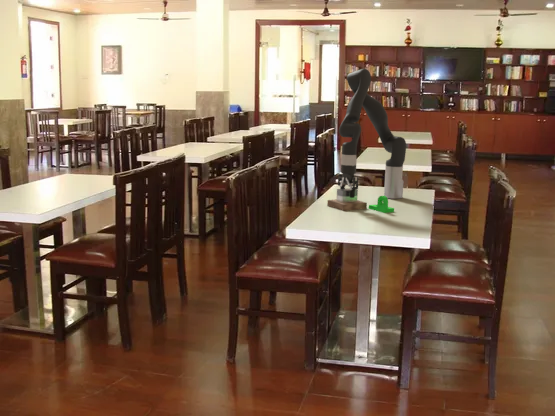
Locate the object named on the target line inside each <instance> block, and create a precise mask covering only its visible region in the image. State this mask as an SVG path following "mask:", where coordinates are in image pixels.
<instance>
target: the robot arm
mask: <svg viewBox="0 0 555 416" xmlns="http://www.w3.org/2000/svg"><path fill="white" fill-rule="evenodd" d="M346 81H347V84H348V86H349V89H351V91H352V92H353V94H354V95H353V96H352V98H350V101H349V102H348V105H347V107H346V113H345V116H344V118H343V120H342V121H341V124H340V125H339V128H338V133H339V135H340V136H341V138H352V139H351V141H347V142H343V143H342V146H341V158H340V173H338V176H337V186H339V189H346V185H347V186H348V187H349V188H350V189H351V190H350V198H354V197H355V190H356V189H357V190H359V177H358V176H355V174H356V173H357V161H358V160H357V159H358V158H357V149H358V148H357V147H358V142H359V139H360V135H361V133H362V126H361V125H360V124H359V123H358V122H359V120H360V119H361V113H362V109H364V111H365V113H366V115H367V117H368V119H369V121H370V123H371V124H372V125H373V127H374V129H375V132H377V135H378V137H379V139H380V141H381V144H382V146H383V148H384V150H385V151H386V152H388V153H390V158H389V159H387V160H386V162H385V169H384V170H385V172H384V187H383V188H384V190H383V196H386V197H387V199H395V200H396V199H402V198H403V197H404V181H405V180H403V171H404V170H403V169H404V163H405V160H406V153H407V151H406V150H407V142H406V139H405V138H404V137H402V136H395V135H394V133H392V131H391V129H390V127H389V119H388V118H389V117H388V113H387V111H386V109H385V107H384V106H383V104H382V103H381V102H380V101H379V100H378V99H376V98H375V97H373V96H371V95H370V94H369V93H368V91H369V88H370V85H371V84H372V75H371V73H370V71H369V70H368V69H367V68H361V69H359V70H358V69H357V70H355V71H351V72H350V73H348V74H347V76H346Z"/></svg>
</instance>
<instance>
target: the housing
mask: <svg viewBox="0 0 555 416" xmlns="http://www.w3.org/2000/svg"><path fill="white" fill-rule="evenodd" d="M350 190H351V189H350V187H349V188H345V189H340V188H337V189H336V199H337V201H338V202H341V203H345V202H357V200H358V194H359V193H358V192H359V191H358V190H359V189H356V190H355V197H354V198H350Z"/></svg>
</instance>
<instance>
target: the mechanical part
mask: <svg viewBox="0 0 555 416" xmlns="http://www.w3.org/2000/svg"><path fill="white" fill-rule="evenodd" d="M388 199H389V198H387V197H386V196H384V195H379V196H378V198H377V204H369V205H368V209H369V210H372V211H375V210H376V212H380V213H384V214H388V213H395V208H394V207H390V206H389V200H388Z"/></svg>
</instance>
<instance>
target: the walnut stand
mask: <svg viewBox="0 0 555 416" xmlns="http://www.w3.org/2000/svg"><path fill="white" fill-rule="evenodd" d="M326 203H327V205H326V206H327V207H330V208H333V209H336V210H340V211H343V212H344V211H354V210H355V211H356V210H367V208H368V204H367V203H368V202H367V201H362V200H358V199H357V202H345V203H341V202H338V201H337V198H336V199H328V200H327V202H326Z"/></svg>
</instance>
